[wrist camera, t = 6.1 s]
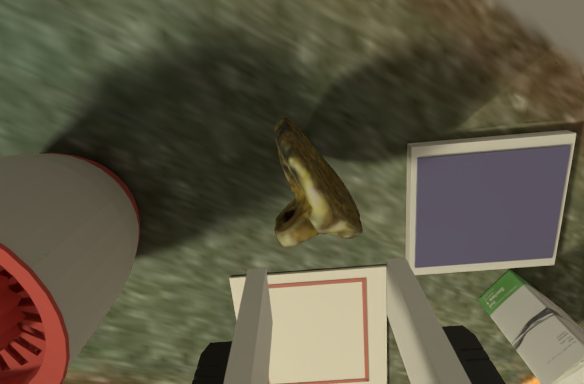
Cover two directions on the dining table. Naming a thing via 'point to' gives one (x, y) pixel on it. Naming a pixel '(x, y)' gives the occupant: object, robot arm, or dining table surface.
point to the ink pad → (486, 201)
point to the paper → (326, 325)
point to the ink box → (537, 330)
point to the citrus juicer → (59, 259)
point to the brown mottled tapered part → (311, 192)
